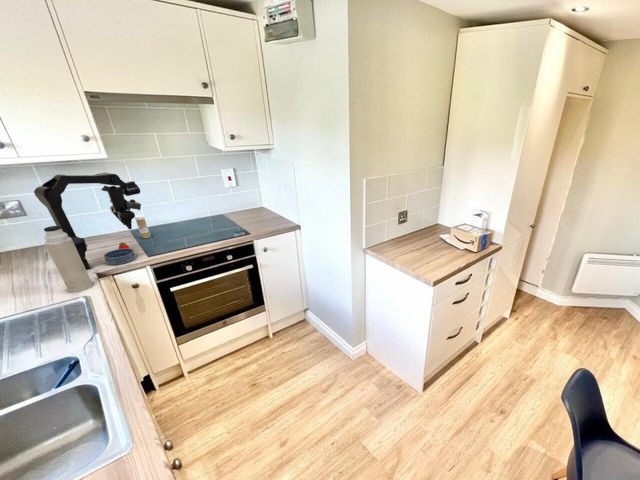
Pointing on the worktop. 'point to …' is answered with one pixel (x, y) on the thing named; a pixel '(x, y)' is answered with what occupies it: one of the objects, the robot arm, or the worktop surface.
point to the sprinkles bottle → (142, 226)
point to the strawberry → (123, 246)
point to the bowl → (119, 256)
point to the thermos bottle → (66, 259)
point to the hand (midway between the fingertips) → (127, 226)
